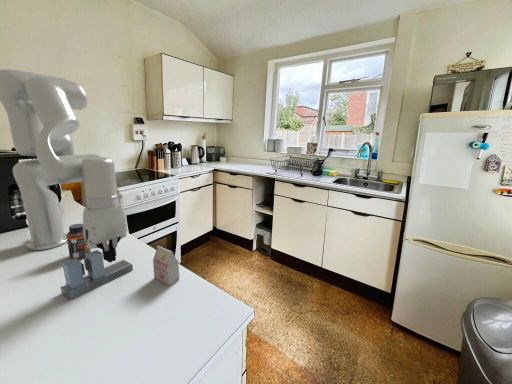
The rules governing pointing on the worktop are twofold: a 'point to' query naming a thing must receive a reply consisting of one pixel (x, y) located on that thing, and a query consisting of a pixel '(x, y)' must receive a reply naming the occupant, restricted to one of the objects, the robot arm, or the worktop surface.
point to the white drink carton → (165, 266)
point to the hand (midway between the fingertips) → (110, 260)
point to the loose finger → (94, 264)
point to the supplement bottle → (77, 242)
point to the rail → (82, 285)
